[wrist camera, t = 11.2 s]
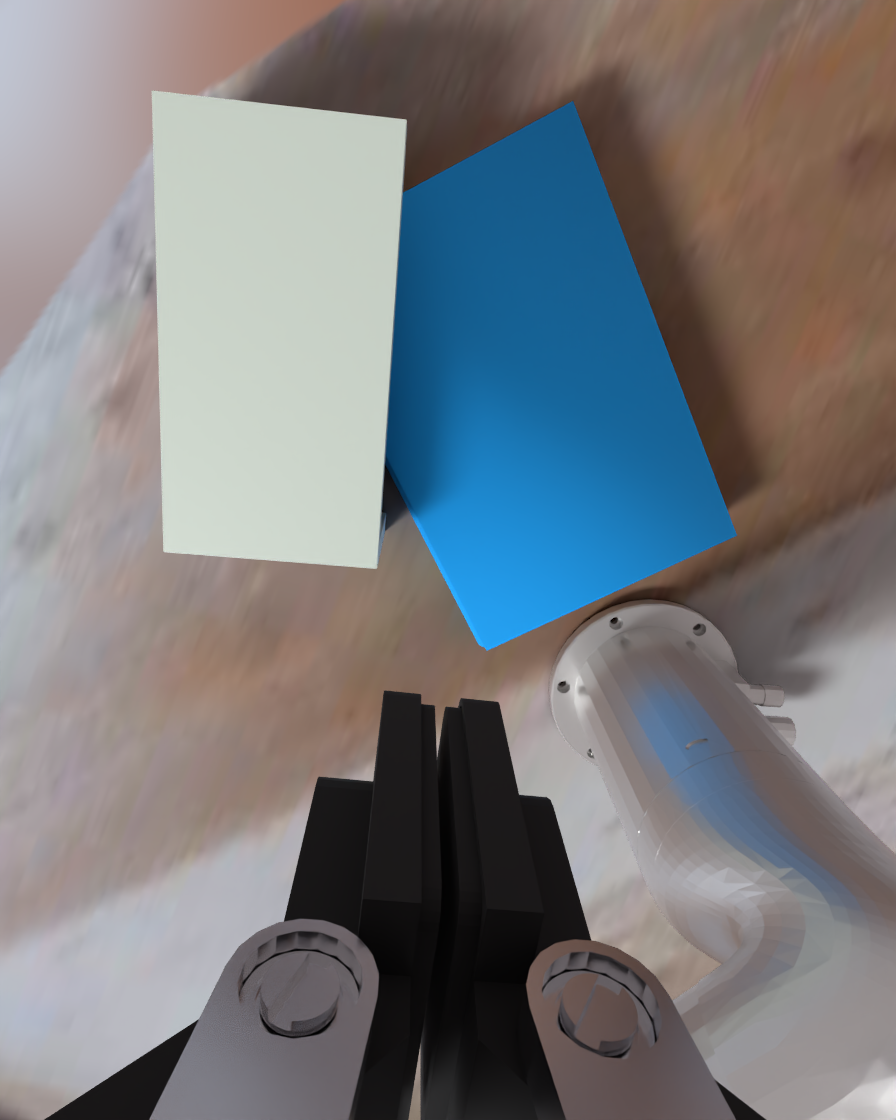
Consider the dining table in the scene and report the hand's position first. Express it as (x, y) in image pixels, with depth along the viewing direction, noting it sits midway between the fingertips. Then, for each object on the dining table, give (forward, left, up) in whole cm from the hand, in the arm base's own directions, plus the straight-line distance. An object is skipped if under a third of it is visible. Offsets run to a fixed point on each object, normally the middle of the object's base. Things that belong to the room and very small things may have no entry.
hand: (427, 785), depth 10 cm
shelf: (+8, -5, -34) cm, 35 cm away
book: (-5, -3, -35) cm, 35 cm away
